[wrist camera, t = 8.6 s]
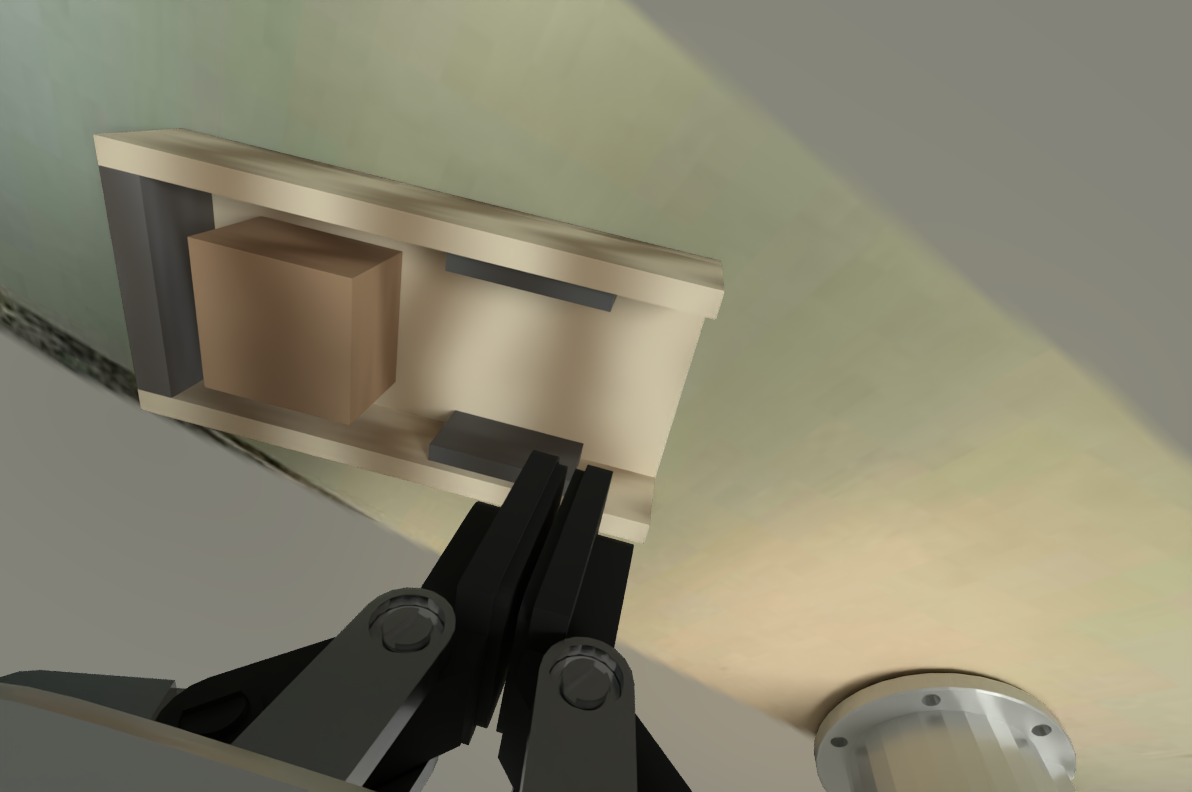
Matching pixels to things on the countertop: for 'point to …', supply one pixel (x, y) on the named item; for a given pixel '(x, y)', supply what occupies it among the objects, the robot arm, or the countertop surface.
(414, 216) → the chute
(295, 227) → the block
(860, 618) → the countertop surface
